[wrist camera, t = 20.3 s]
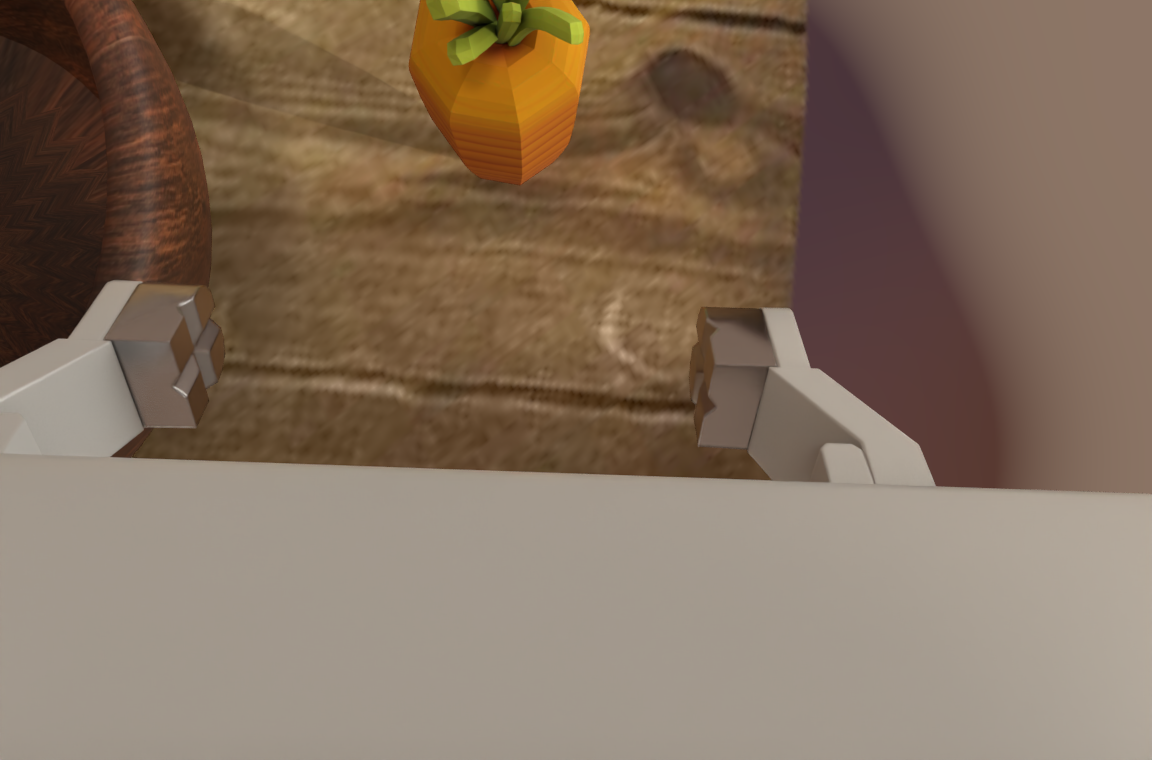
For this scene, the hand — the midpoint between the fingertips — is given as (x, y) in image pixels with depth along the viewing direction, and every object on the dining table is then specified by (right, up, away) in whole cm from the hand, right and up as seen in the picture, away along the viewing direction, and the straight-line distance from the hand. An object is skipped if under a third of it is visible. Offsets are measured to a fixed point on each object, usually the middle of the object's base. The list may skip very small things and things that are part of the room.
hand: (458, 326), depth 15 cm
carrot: (0, +7, +19) cm, 20 cm away
